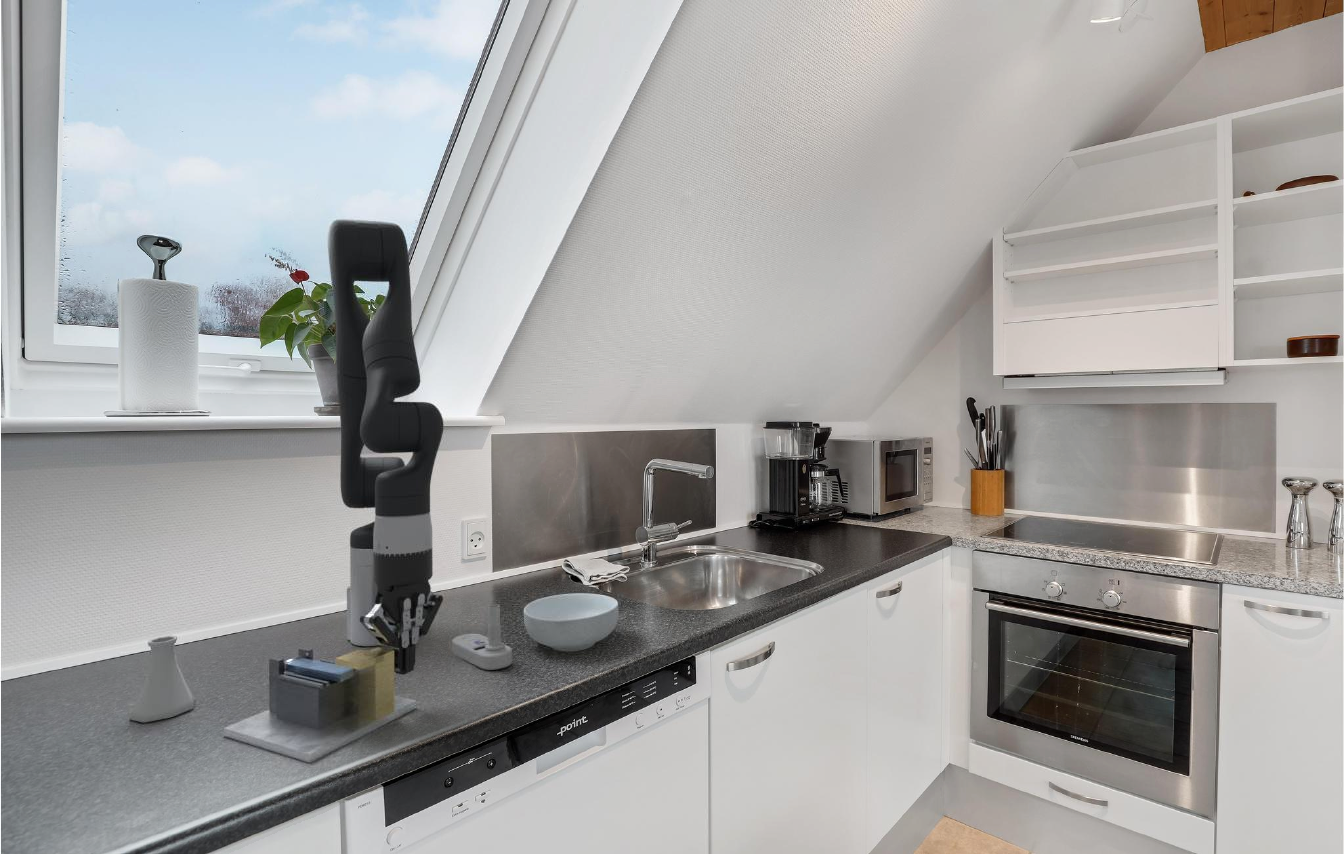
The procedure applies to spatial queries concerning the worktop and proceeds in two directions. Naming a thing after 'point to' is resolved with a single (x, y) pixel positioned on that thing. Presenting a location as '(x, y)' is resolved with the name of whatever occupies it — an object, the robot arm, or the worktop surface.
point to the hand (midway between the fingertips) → (404, 671)
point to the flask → (162, 685)
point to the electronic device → (484, 645)
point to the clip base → (309, 737)
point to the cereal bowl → (571, 620)
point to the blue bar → (318, 669)
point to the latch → (373, 680)
